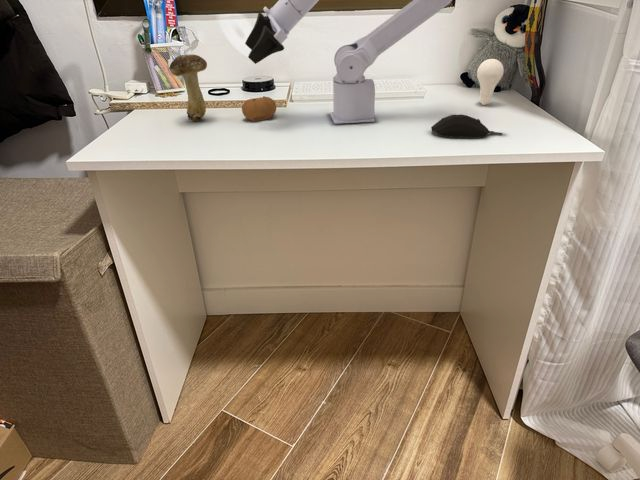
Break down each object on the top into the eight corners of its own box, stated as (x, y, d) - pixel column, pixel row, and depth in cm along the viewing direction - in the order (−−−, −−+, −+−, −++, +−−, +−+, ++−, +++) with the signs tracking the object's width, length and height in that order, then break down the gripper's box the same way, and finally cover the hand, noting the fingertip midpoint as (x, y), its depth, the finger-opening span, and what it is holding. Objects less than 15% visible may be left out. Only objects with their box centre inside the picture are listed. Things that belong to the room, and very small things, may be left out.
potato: (272, 113, 109) (271, 92, 107) (280, 118, 106) (278, 97, 103) (240, 118, 106) (238, 97, 104) (246, 123, 103) (244, 102, 100)
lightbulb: (500, 108, 109) (509, 61, 103) (475, 108, 109) (483, 61, 103) (492, 101, 114) (501, 56, 108) (468, 101, 114) (476, 56, 108)
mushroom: (206, 127, 101) (195, 58, 93) (171, 125, 103) (157, 57, 94) (222, 115, 109) (212, 50, 101) (189, 114, 110) (178, 49, 102)
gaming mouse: (505, 139, 91) (509, 120, 88) (432, 138, 92) (434, 119, 90) (498, 129, 96) (502, 111, 94) (429, 128, 97) (431, 110, 95)
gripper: (275, -20, 94) (233, 28, 99) (285, 1, 84) (238, 53, 89) (298, 6, 98) (257, 50, 103) (310, 28, 88) (264, 76, 93)
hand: (250, 53), depth 96 cm, fingers open, 7 cm apart
